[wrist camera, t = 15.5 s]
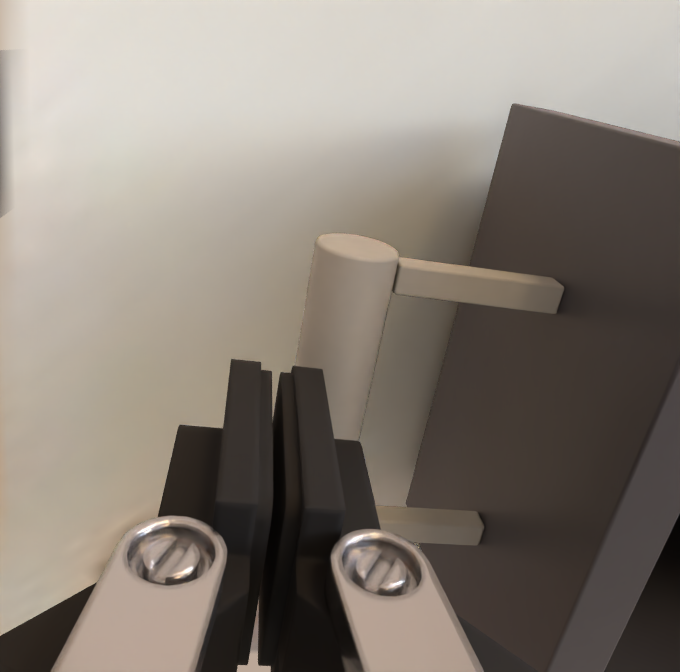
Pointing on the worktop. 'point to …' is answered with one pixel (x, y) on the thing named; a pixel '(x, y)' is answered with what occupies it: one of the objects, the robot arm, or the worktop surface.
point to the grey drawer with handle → (539, 395)
